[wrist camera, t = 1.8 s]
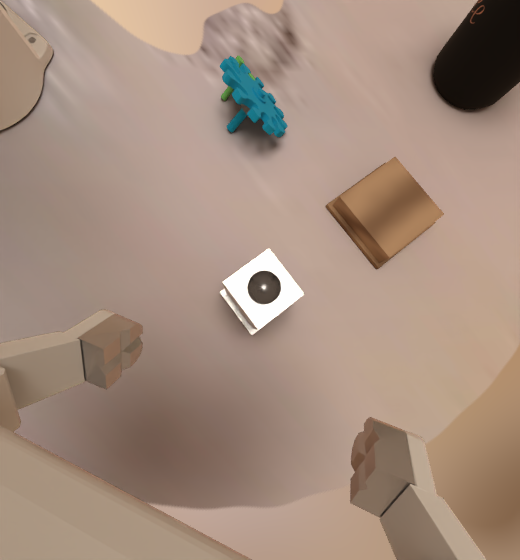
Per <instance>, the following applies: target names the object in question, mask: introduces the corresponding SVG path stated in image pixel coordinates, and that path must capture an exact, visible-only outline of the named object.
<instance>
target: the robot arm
mask: <svg viewBox="0 0 520 560" xmlns="http://www.w3.org/2000/svg"><path fill="white" fill-rule="evenodd" d="M52 55H53V49H52V47H51V46H50V45H49V43H48V42H47V41H46V40H45V39H44V38H43V37H42V36H41V35H40V34H39V33H37V32H36V31H35V30H34V29H33V28H32V27H31V26H29V25H28V24H27V23H26V22H25V21H24V20H23V19H21V18H20V17H19V16H18V15H17V14H16V13H15V12H13V11H12V10H11V9H10V8H9V7H8V6H7V5H5V4H4V3H3V2H2V1H1V0H0V130H3V129H5V128H7V127H9V126H11V125H13V124H15V123H16V122H18V121H19V120H21V119H22V118H23V117H24V116H26V115H27V114H28V113H29V111H30V110H31V109H32V108H33V107H34V105H35V104H36V102H37V100H38V98H39V96H40V94H41V91H42V86H43V75H44V70H45V68H46V66H47V64H48V63H49V61H50V59H51V57H52ZM142 333H143V327H142V325H141V324H139V323H137V322H134V321H132V320H130V319H127V318H125V317H123V316H121V315H118V314H115V313H113V312H111V311H109V310H106V309H104V310H100V311H98V312H97V313H95V314H93V315H92V316H90V317H88V318H87V319H85V320H83V321H82V322H80V323H78V324H77V325H75V326H74V327H72V328H70V329H69V330H67V331H65V332H64V333H63V332H61V331H58V332H53V333H48V334H43V335H38V336H33V337H28V338H24V339H19V340H14V341H9V342H4V343H0V560H251V559H249V558H248V557H246V556H244V555H242V554H240V553H238V552H236V551H235V550H233V549H231V548H229V547H227V546H225V545H223V544H222V543H220V542H218V541H216V540H214V539H212V538H210V537H208V536H206V535H205V534H203V533H201V532H199V531H197V530H195V529H194V528H191V527H190V526H188V525H186V524H184V523H182V522H180V521H179V520H177V519H175V518H173V517H171V516H169V515H167V514H166V513H164V512H162V511H160V510H158V509H156V508H154V507H152V506H151V505H149V504H147V503H145V502H143V501H141V500H139V499H137V498H136V497H134V496H132V495H130V494H128V493H126V492H124V491H123V490H121V489H119V488H117V487H115V486H113V485H111V484H109V483H108V482H106V481H104V480H102V479H100V478H98V477H96V476H94V475H93V474H91V473H89V472H87V471H85V470H83V469H81V468H79V467H78V466H76V465H74V464H72V463H70V462H68V461H66V460H64V459H63V458H61V457H59V456H57V455H55V454H53V453H51V452H50V451H48V450H46V449H44V448H42V447H40V446H38V445H36V444H35V443H33V442H31V441H29V440H27V439H25V438H23V437H21V436H20V435H18V434H16V433H14V431H15V430H16V429H18V428H19V427H20V424H21V420H20V417H19V413H18V410H19V409H21V408H23V407H26V406H28V405H31V404H33V403H35V402H38V401H40V400H43V399H45V398H47V397H50V396H52V395H55V394H57V393H59V392H62V391H64V390H67V389H69V388H71V387H74V386H76V385H79V384H81V383H83V382H85V381H87V382H90V383H92V384H94V385H97V386H99V387H101V388H104V389H106V390H107V389H108V388H109V387H110V386H111V385H112V384H113V383H114V382H115V381H116V380H117V379H118V378H119V377H120V376H121V373H122V370H123V369H126V368H129V367H131V366H132V365H133V364H134V363H135V362H136V361H137V359H138V357H139V356H140V354H141V351H142V345H143V343H142V341H141V339H140V337H139V336H140V335H141V334H142ZM351 465H352V467H353V469H354V471H355V473H354V474H353V476H352V478H351V484H350V488H351V490H350V503H352V504H353V505H355V506H358V507H359V508H361V509H363V510H366V511H368V512H370V513H372V514H374V515H376V516H378V517H380V522H381V524H382V526H383V529H384V531H385V533H386V536H387V538H388V540H389V543H390V545H391V547H392V549H393V552H394V554H395V557H396V559H397V560H486V558H485V557H484V555H483V554H482V553H481V551H480V550H479V548H478V547H477V545H476V544H475V543H474V541H473V540H472V538H471V537H470V536H469V534H468V533H467V532H466V530H465V529H464V527H463V526H462V525H461V523H460V521H459V520H458V519H457V517H456V516H455V515H454V513H453V512H452V510H451V509H450V507H449V506H448V505H447V503H446V502H445V500H444V499H443V498H441V497H439V496H437V492H436V488H435V484H434V480H433V476H432V472H431V468H430V464H429V460H428V455H427V451H426V447H425V443H424V440H423V439H422V437H420V436H418V435H415V434H413V433H410V432H407V431H405V430H402V429H400V428H397V427H395V426H392V425H390V424H387V423H385V422H382V421H380V420H377V419H374V418H372V417H369V418H368V419H367V420H366V422H365V423H364V431H363V432H360V433H358V435H357V437H356V438H355V441H354V444H353V447H352V453H351Z"/></svg>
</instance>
